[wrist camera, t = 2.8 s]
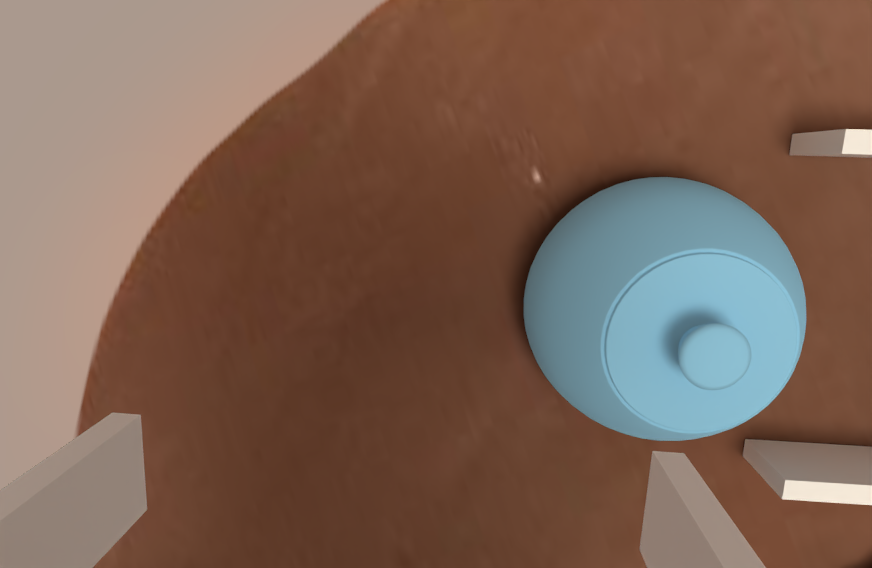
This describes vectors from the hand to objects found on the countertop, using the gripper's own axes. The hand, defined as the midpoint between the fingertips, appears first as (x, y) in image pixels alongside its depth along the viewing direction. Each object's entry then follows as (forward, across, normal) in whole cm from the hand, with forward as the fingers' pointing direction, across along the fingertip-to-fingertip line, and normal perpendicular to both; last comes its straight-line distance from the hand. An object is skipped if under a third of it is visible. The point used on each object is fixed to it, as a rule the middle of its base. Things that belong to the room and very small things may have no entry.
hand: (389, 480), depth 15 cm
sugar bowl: (+23, +13, 0) cm, 26 cm away
